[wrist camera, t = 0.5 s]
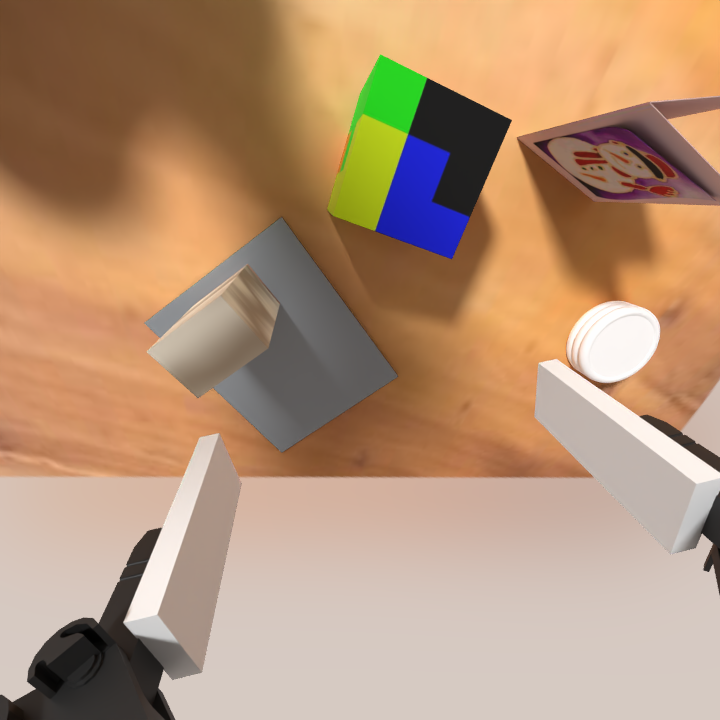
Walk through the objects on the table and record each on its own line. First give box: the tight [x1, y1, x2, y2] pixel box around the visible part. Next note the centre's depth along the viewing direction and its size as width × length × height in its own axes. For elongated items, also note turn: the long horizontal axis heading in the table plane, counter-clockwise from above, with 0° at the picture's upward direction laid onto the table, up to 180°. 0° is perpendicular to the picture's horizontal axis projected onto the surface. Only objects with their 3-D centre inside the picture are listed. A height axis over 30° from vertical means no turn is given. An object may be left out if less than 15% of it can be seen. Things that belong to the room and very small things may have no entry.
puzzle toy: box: [327, 55, 512, 259], centre depth 30 cm, size 10×10×10 cm
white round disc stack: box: [566, 301, 660, 383], centre depth 44 cm, size 10×10×4 cm
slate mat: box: [145, 217, 398, 452], centre depth 41 cm, size 22×18×1 cm
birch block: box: [147, 264, 280, 398], centre depth 32 cm, size 5×7×12 cm
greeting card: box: [517, 96, 720, 205], centre depth 29 cm, size 11×7×15 cm, turn 60°
